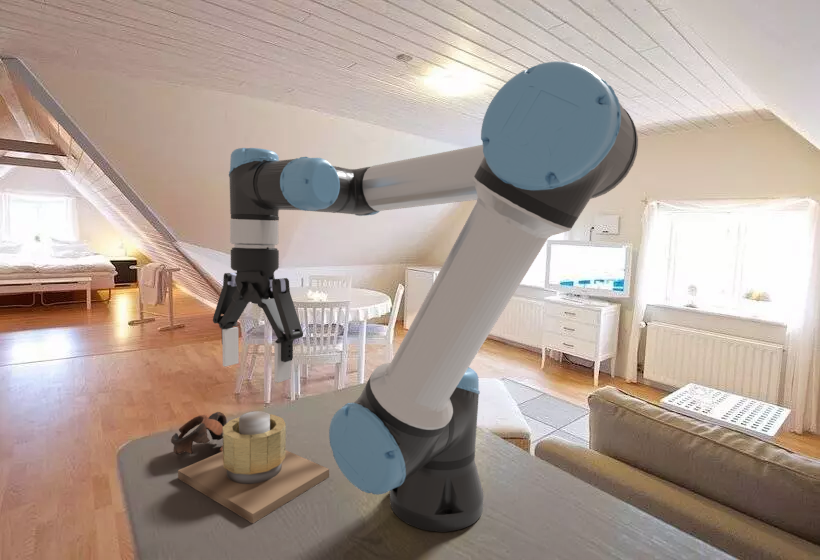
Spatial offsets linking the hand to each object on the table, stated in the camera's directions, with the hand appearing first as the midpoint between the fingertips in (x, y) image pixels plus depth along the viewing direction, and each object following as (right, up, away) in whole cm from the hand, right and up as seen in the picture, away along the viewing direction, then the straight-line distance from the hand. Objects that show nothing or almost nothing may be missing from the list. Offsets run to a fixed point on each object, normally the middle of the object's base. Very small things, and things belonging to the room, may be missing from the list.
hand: (255, 372), depth 77 cm
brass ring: (-1, -15, +2) cm, 16 cm away
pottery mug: (-13, -18, +11) cm, 25 cm away
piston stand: (-1, -19, +2) cm, 19 cm away
